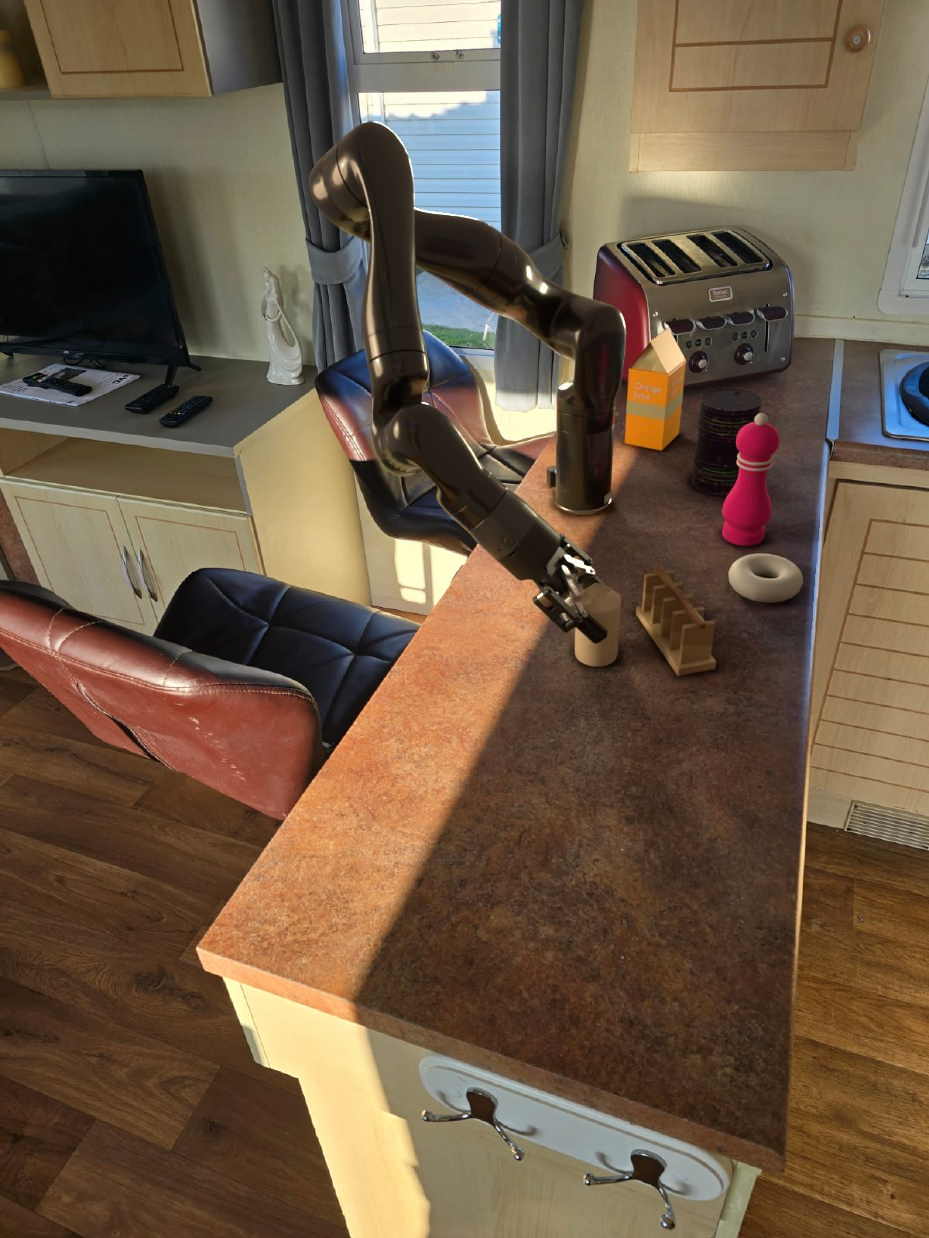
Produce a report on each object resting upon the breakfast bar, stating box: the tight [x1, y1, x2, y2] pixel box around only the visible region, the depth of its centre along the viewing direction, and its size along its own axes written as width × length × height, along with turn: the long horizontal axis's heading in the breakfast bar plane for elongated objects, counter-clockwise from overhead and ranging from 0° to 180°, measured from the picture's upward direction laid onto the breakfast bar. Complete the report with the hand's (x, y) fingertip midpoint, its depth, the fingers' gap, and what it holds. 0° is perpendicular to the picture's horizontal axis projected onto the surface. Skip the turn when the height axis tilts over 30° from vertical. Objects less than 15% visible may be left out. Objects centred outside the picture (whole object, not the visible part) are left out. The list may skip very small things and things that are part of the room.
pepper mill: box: [721, 412, 781, 547], centre depth 127 cm, size 7×7×20 cm
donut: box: [727, 553, 804, 604], centre depth 120 cm, size 10×4×10 cm
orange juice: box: [624, 327, 687, 451], centre depth 158 cm, size 8×9×20 cm
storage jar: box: [691, 387, 763, 496], centre depth 143 cm, size 10×10×15 cm
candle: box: [574, 583, 622, 668], centre depth 107 cm, size 6×6×10 cm
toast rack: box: [635, 564, 717, 677], centre depth 110 cm, size 14×5×8 cm, turn 12°
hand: (605, 618), depth 107 cm, fingers open, 8 cm apart
